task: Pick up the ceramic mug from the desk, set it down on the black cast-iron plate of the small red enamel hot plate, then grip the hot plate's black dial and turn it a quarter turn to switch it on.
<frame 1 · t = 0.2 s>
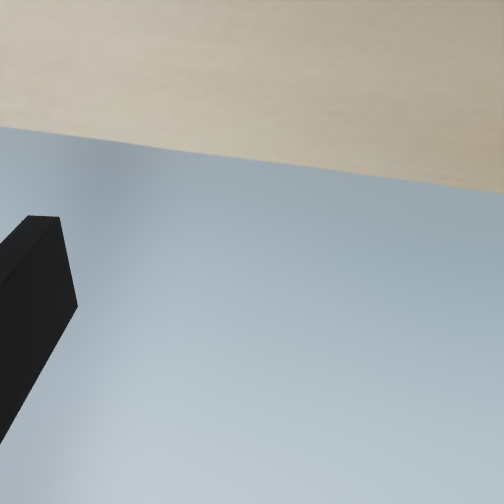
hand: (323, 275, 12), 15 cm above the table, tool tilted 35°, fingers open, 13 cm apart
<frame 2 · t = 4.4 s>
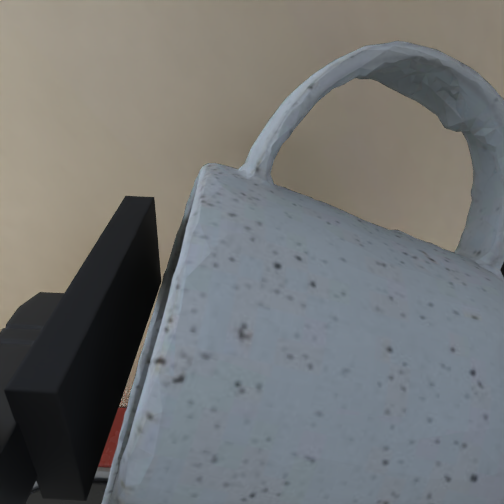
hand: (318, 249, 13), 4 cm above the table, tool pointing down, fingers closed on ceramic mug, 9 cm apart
ceramic mug: (313, 239, 13), point 3 cm above the table, touching gripper
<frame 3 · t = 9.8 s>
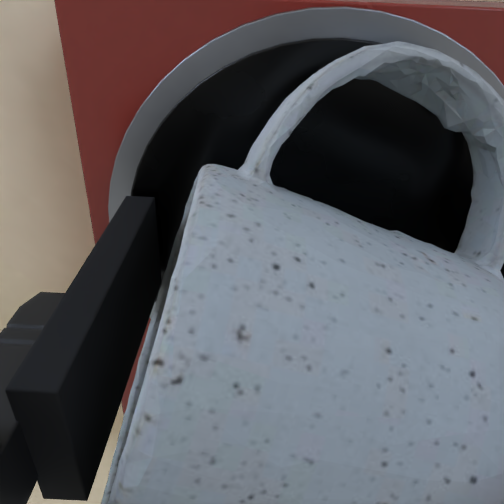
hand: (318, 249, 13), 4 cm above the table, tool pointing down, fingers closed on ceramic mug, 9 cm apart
burner plate: (315, 237, 13), resting on hotplate
ceramic mug: (313, 239, 13), point 3 cm above the table, touching gripper
hotplate: (339, 268, 17), on the table
when the fingers open (4 cm above the table, at t = 23.6 s): ceramic mug stays where it is, resting on burner plate.
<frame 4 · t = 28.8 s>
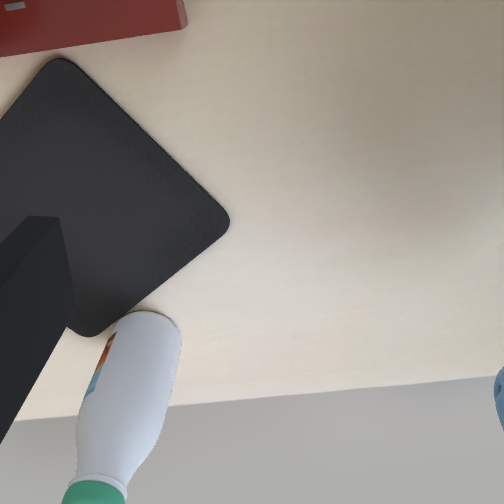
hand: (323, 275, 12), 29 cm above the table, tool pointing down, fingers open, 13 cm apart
mouse pad: (78, 220, 44), on the table
milk bottle: (148, 334, 51), on the table
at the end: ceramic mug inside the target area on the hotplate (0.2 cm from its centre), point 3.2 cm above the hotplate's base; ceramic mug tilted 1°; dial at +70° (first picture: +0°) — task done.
